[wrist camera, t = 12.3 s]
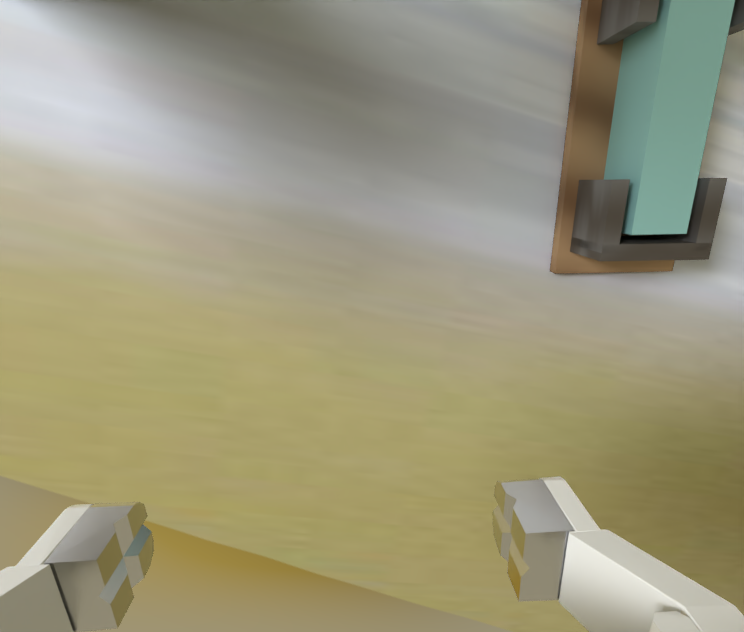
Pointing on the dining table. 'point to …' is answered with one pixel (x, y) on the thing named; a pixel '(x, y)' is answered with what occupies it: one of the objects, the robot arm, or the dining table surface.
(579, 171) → the sharpening stone holder
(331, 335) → the dining table surface
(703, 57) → the slat
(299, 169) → the dining table surface
